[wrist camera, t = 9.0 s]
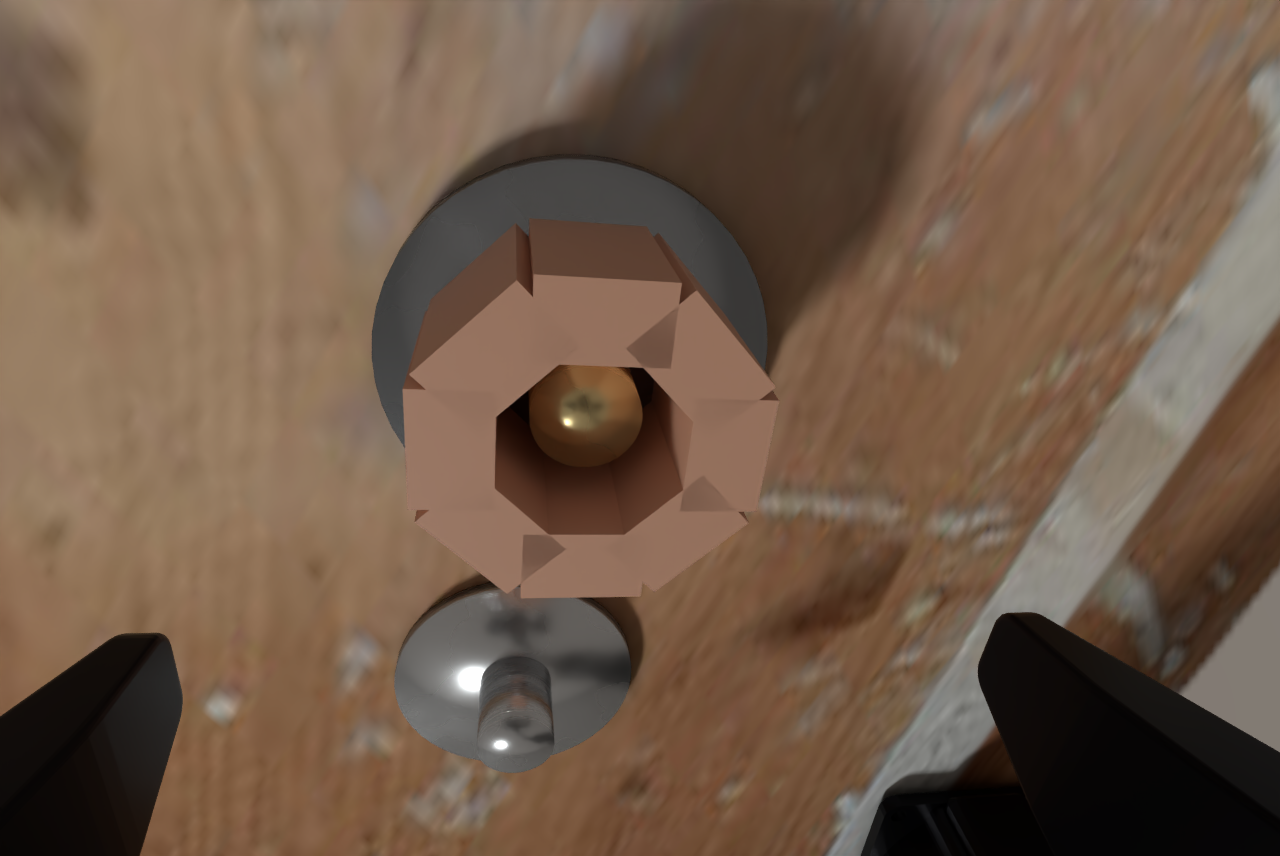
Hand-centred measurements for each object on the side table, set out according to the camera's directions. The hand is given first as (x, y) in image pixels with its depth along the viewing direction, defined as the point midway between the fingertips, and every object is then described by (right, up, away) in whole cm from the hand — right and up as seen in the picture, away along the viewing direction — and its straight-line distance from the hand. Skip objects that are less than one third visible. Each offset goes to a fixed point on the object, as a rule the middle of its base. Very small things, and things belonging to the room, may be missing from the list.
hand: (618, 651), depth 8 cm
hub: (-1, +4, +8) cm, 9 cm away
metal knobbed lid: (-3, -4, +12) cm, 13 cm away
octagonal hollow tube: (-1, +4, +7) cm, 8 cm away
